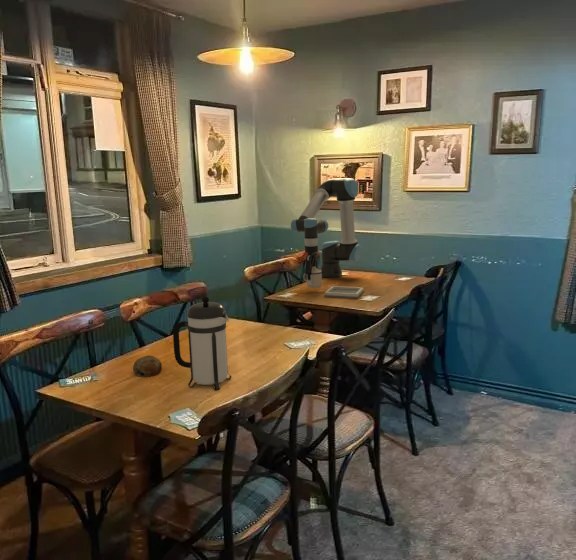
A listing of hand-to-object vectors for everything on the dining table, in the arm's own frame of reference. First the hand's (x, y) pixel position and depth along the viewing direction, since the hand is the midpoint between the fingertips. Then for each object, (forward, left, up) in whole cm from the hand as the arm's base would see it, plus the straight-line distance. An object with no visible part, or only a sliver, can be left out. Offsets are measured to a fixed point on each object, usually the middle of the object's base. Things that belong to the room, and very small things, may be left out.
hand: (312, 283), depth 309 cm
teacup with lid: (0, 0, -2) cm, 2 cm away
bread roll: (+138, -19, -5) cm, 139 cm away
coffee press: (+141, +6, -5) cm, 142 cm away
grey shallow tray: (+2, +20, -5) cm, 21 cm away
